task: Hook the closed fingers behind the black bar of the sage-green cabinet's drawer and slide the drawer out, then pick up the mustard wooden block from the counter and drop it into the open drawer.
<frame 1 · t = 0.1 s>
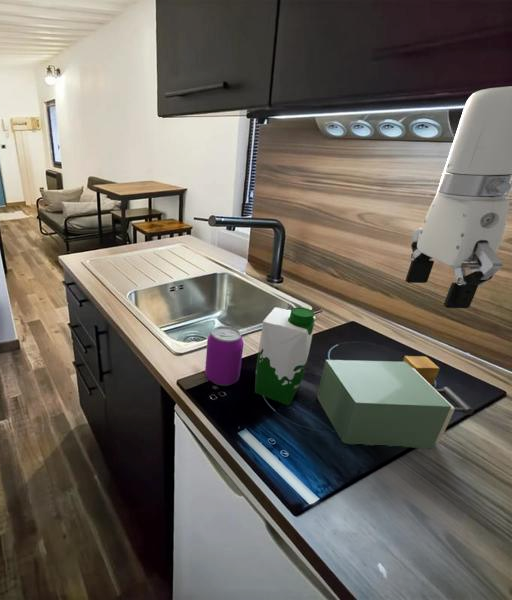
hand: (434, 293, 59), 26 cm above the worktop, tool pointing down, fingers open, 9 cm apart
block: (415, 378, 81), on the worktop
drawer: (401, 402, 68), point 5 cm above the worktop, slide at 0.0 cm
cabinet: (369, 420, 70), on the worktop
milk carton: (276, 391, 80), on the worktop
beverage can: (221, 377, 85), on the worktop
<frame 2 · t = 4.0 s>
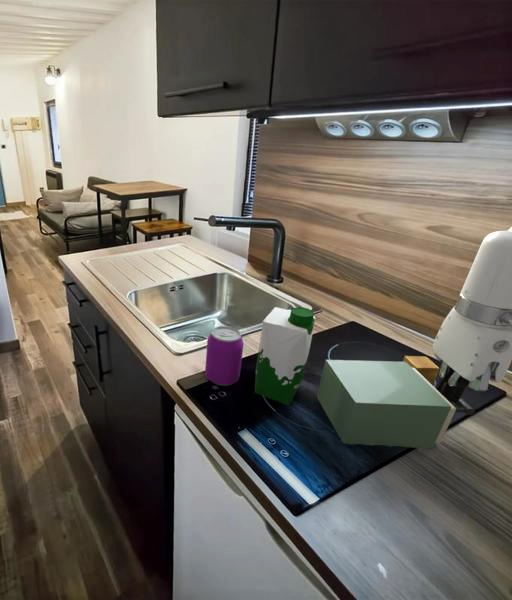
hand: (445, 399, 66), 6 cm above the worktop, tool pointing down, fingers closed
drawer: (402, 402, 68), point 5 cm above the worktop, slide at 0.2 cm, touching gripper
everything else where it was.
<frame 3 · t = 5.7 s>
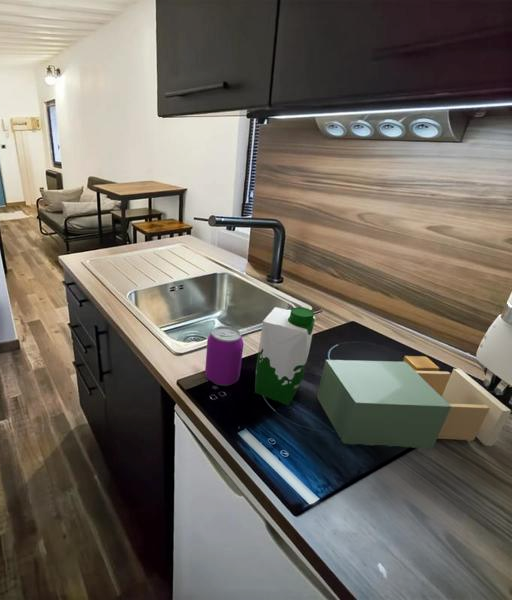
hand: (490, 407, 66), 4 cm above the worktop, tool pointing down, fingers closed
drawer: (451, 404, 66), point 5 cm above the worktop, slide at 8.2 cm, touching gripper
everything else where it was.
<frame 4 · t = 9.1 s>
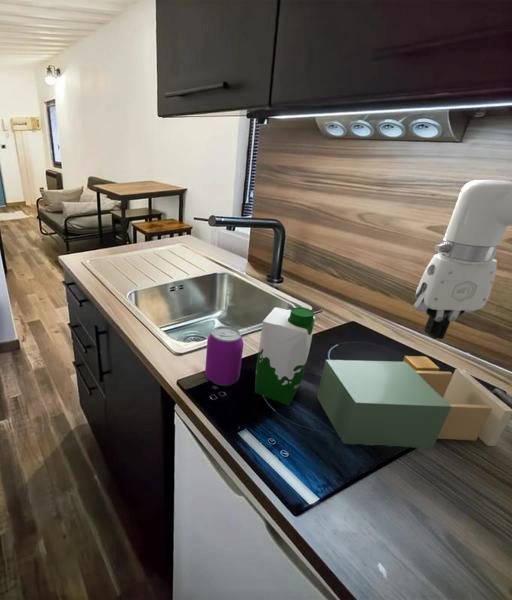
hand: (433, 335, 75), 11 cm above the worktop, tool pointing down, fingers closed
drawer: (453, 404, 66), point 5 cm above the worktop, slide at 8.6 cm
everything else where it was.
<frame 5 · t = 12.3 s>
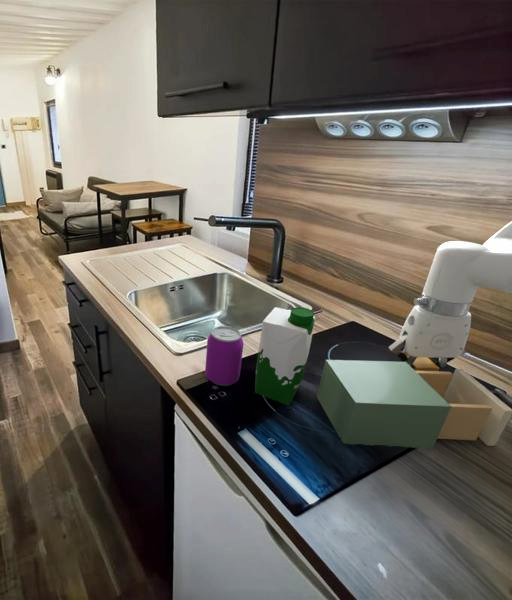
hand: (416, 377, 80), 0 cm above the worktop, tool pointing down, fingers closed on block, 4 cm apart
block: (415, 378, 81), on the worktop, touching gripper
everything else where it was.
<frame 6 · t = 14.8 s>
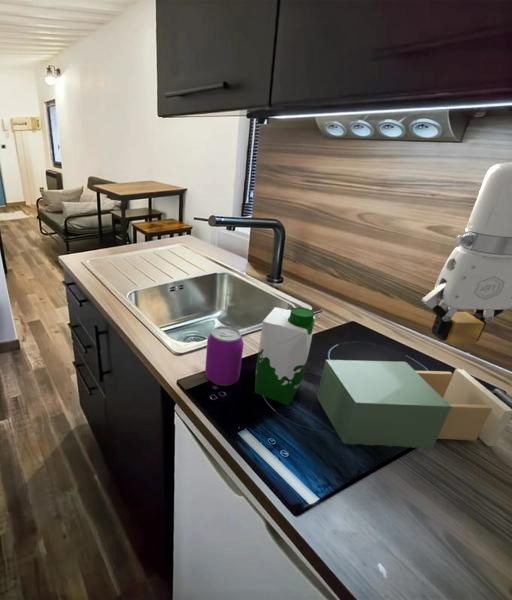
hand: (454, 336, 68), 15 cm above the worktop, tool pointing down, fingers closed on block, 4 cm apart
block: (453, 337, 68), point 15 cm above the worktop, touching gripper
everything else where it was.
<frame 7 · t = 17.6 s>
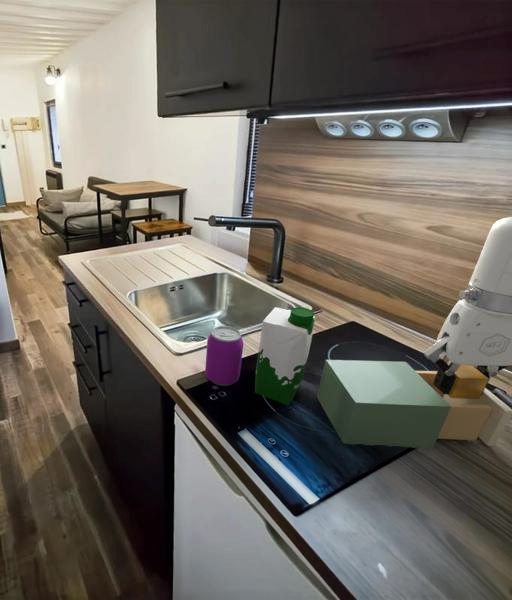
hand: (456, 388, 65), 8 cm above the worktop, tool pointing down, fingers closed on block, 4 cm apart
block: (455, 390, 65), point 8 cm above the worktop, touching gripper
drawer: (453, 404, 66), point 5 cm above the worktop, slide at 8.6 cm, touching gripper
everything else where it was.
when the fingers open (8 cm above the worktop, at t = 17.7 s): block drops 6 cm, resting on drawer.
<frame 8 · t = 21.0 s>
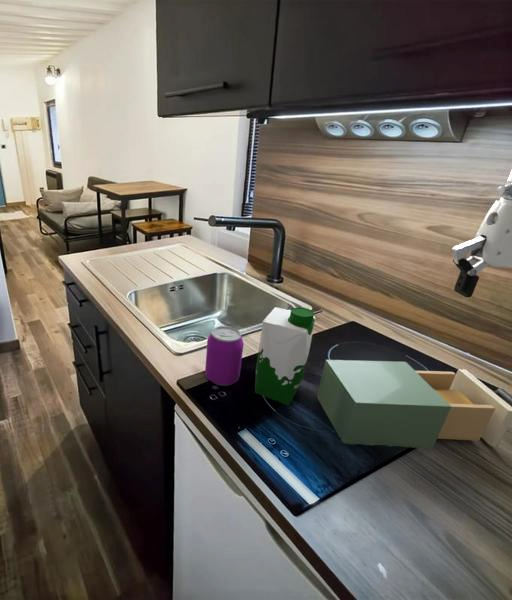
hand: (493, 294, 63), 24 cm above the worktop, tool pointing down, fingers open, 9 cm apart
block: (445, 415, 68), point 2 cm above the worktop, touching drawer
drawer: (456, 404, 66), point 5 cm above the worktop, slide at 9.0 cm, touching block
everything else where it was.
at the end: drawer slide at 9.0 cm; block inside the target area in the drawer (1.1 cm from its centre), point 2.0 cm above the cabinet's base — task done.
